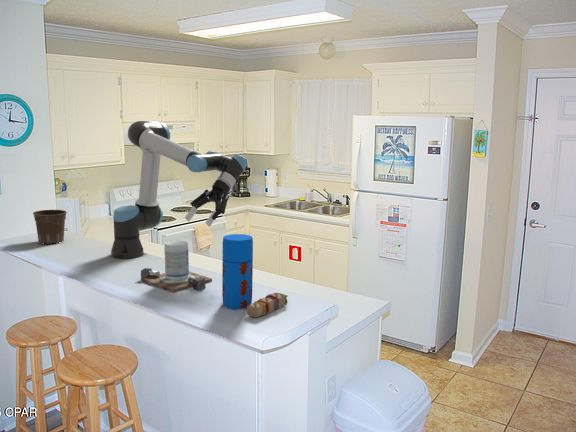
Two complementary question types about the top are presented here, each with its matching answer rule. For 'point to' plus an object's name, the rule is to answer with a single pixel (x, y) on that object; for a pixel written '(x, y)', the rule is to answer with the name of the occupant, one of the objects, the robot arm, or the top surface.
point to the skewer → (267, 304)
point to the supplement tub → (176, 260)
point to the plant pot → (50, 225)
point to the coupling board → (173, 282)
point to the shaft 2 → (197, 283)
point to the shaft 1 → (149, 273)
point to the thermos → (237, 271)
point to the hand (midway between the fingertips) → (196, 222)
